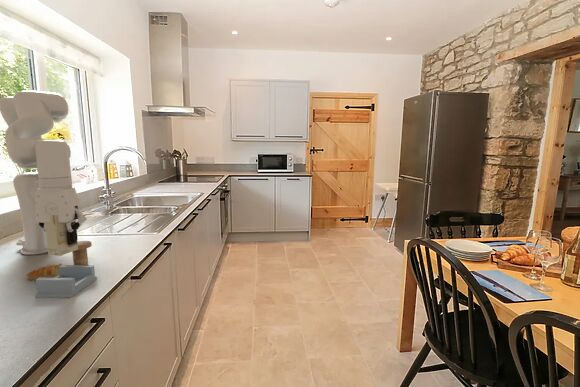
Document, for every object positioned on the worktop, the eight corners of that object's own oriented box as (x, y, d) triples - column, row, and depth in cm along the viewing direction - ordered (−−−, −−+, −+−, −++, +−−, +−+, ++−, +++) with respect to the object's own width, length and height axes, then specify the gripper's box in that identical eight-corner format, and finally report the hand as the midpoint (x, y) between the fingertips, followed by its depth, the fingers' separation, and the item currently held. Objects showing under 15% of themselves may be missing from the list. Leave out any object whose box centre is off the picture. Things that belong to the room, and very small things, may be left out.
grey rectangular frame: (35, 297, 86) (33, 281, 85) (65, 278, 98) (63, 264, 97) (71, 297, 86) (69, 281, 85) (96, 278, 98) (95, 264, 97)
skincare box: (59, 256, 86) (55, 215, 84) (47, 255, 87) (42, 214, 85) (79, 249, 93) (75, 210, 90) (67, 248, 93) (63, 209, 91)
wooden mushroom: (64, 276, 99) (60, 247, 97) (78, 267, 106) (75, 240, 104) (85, 276, 99) (82, 247, 97) (98, 267, 106) (95, 240, 104)
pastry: (23, 284, 94) (22, 272, 93) (31, 275, 100) (30, 264, 100) (60, 279, 98) (58, 268, 97) (65, 271, 104) (64, 260, 103)
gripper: (14, 184, 82) (23, 247, 85) (77, 185, 83) (83, 248, 86) (36, 181, 90) (43, 239, 93) (94, 181, 90) (99, 239, 93)
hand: (62, 242), depth 89 cm, fingers closed on skincare box, 5 cm apart
